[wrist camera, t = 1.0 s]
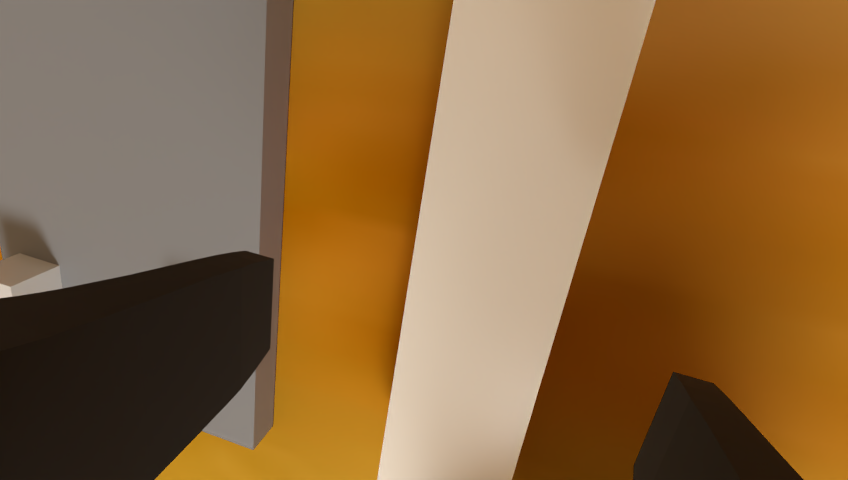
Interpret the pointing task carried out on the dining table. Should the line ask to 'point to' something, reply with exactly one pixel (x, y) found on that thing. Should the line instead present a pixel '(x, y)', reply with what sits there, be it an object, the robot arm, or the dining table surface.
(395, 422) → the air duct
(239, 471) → the dining table surface
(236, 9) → the collar stand
